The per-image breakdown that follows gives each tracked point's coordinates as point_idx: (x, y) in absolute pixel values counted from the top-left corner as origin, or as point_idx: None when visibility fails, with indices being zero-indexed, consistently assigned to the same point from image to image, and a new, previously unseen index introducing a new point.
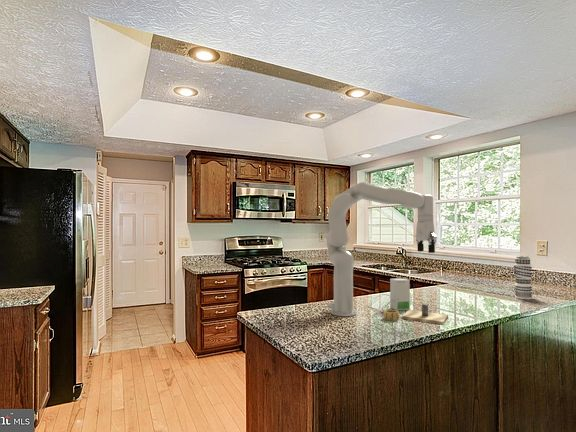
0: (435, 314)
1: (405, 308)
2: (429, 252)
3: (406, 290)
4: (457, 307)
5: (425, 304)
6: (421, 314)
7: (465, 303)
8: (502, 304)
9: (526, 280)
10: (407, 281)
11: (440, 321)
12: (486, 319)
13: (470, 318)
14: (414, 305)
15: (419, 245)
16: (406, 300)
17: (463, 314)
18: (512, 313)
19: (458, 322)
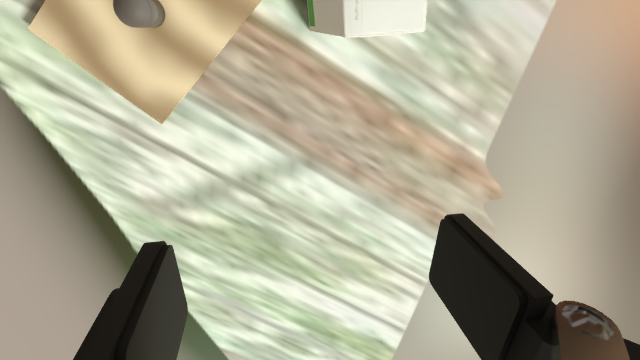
0: (167, 73)
1: (307, 3)
2: (146, 246)
3: (325, 6)
4: (306, 230)
5: (138, 16)
6: (168, 3)
7: (349, 277)
8: (313, 352)
9: None
10: (339, 14)
11: (33, 19)
12: (135, 231)
13: (148, 190)
14: (372, 96)
15: (494, 293)
16: (314, 8)
17: (207, 198)
18: (210, 328)
19: (82, 115)
